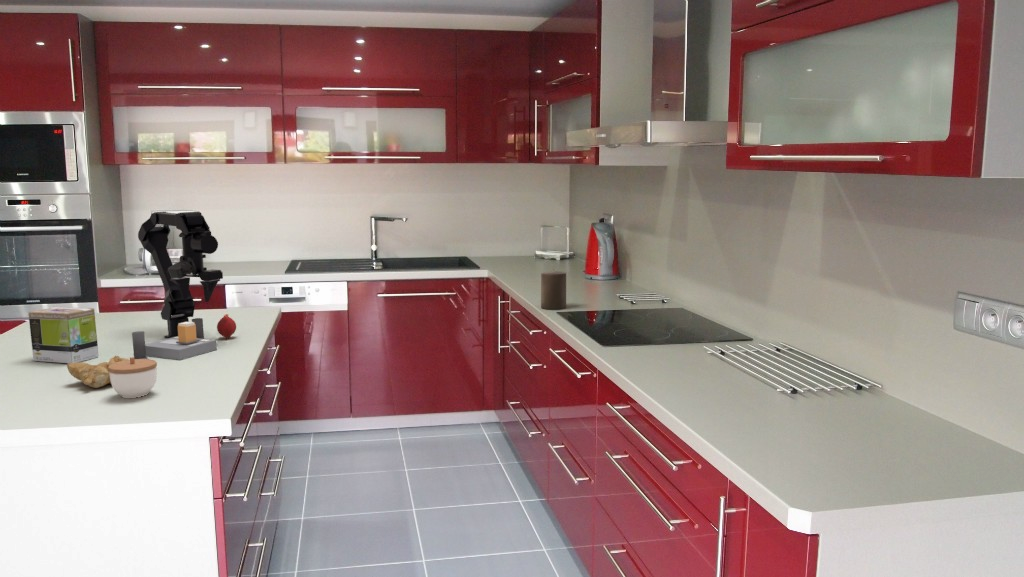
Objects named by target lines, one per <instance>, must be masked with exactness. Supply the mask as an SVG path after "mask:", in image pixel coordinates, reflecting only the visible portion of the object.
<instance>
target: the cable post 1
mask: <svg viewBox="0 0 1024 577" xmlns="http://www.w3.org/2000/svg"><path fill="white" fill-rule="evenodd" d="M131 338H132V347H133V348H132V349H133V357H134V359H148V356H146V348H145V344H146V338H145V331H142V330H141V331H140V330H139V331H133V332H131Z"/></svg>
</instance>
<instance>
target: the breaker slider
mask: <svg viewBox="0 0 1024 577" xmlns="http://www.w3.org/2000/svg"><path fill="white" fill-rule="evenodd" d="M178 339H179V341H177V342H176V343H179V344H190V343H194V342H198V341H200V340H197V337H196V324H195V323H194V322H192V321H189V322H183V323H179V324H178Z"/></svg>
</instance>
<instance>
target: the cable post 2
mask: <svg viewBox="0 0 1024 577" xmlns="http://www.w3.org/2000/svg"><path fill="white" fill-rule="evenodd" d="M191 322H194V323H195V324H196V337H197V338H200V339H205V337H204V336H205V335H204V323H203V322H204V318H202V317H201V318H200V317H196V318H192V319H191Z"/></svg>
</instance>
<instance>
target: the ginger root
mask: <svg viewBox="0 0 1024 577" xmlns="http://www.w3.org/2000/svg"><path fill="white" fill-rule="evenodd" d="M126 360H129V359H128V358H125V357H120V356H119V355H114V356H113V357H111V358H110V359H109V361H108V362H106V361H104V362H103V361H102V362H100V363H98V364H89V363H88V362H84V361H82V362H75V363H66V367H67V368H66V369H67V371H68V373H69V374H70V375H71V376H72V377H73V378H74V379H76V380H78V381H81V382H82V383H83V384H84V385H86V386H88V387H91V388H94V389H99V388H101V387H104V386H106V385H105V384H107V385H112V384H111V381H110V376H109V371H108V367H109V365H111V364H113V363H116V362H120V361H126Z"/></svg>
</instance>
